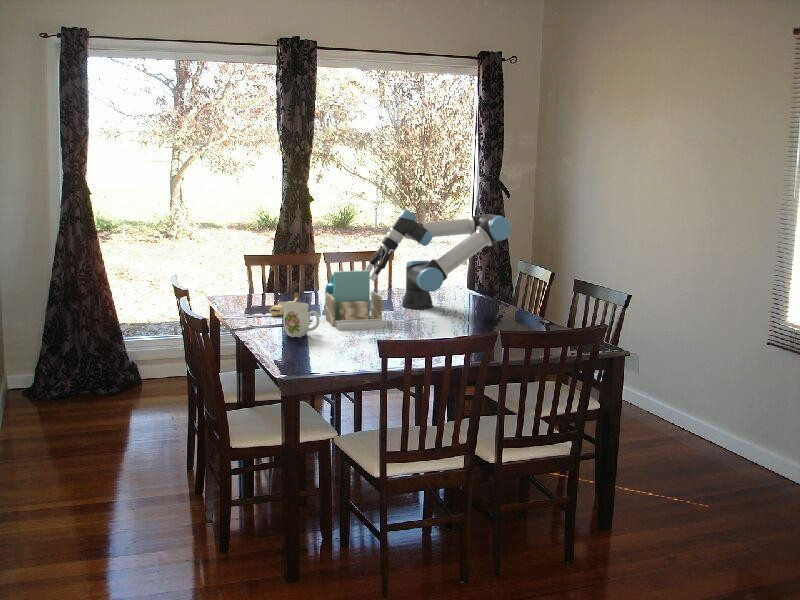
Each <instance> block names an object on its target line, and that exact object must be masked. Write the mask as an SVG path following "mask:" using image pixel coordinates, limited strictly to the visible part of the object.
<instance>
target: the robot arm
mask: <svg viewBox="0 0 800 600" xmlns="http://www.w3.org/2000/svg"><path fill="white" fill-rule="evenodd" d="M416 219H417V216H416V215H415V214H414V213H413V212H412V211H410V210H409V209H405V208H404V209H402V210H401V212H400V213H399V214H398V216H397V218H395V221H394V222H393V223H392V225H391V227H390V228H389V229H388V231H387V233H386V236H384V237H383V239H382V241H381V244H383V246H382V245H380V247H379V248H378V249H377V250H376V252H375V253H374V254H373V255H372V256H371V257H370V258H369V260H368V261H369V262H368V264H367V265H366V267H365V269H363V271H370V280H371V281H372V282H375V281H376V279H377V277H378V276H379V274H380V273H381V272H382V270H383V269H386V267H387V264H388V262H389V260H390V257H391V256H392V253H393V251H396V250H397V249H398V247H399V244H401V242H402V241H403V239H404V238H406V239H408V240H412V241H414V242H417V243H418V244H419V245H421V246H423V247H426V246H428V245H429V244H430V243H431V241H432V240H433V238H436V237H437V238H438V237H449V236H460V235H461V236H462V235H469V236H467V237H466V238H465V239H463V240H462V241H461V242H459V243H458V244H457V245H455V246H453V247H452V248H451V249H449V250H448V251H447V252H445V254H443V255H441V257H438V259H436V258H433V259H431V260H408V261H406V266H405V293H404V295H403V299H402V302H401V306H402V307H403V308H405V307H406V309H411V308H414V310H425V309H424V308H426V309H431V308H432V307H433V299H432V296H431V292H435V291H437V290H439V289H440V288H441V286H442V285H443V282H444V281H446V280H447V279H448V275H449V274H450V273H451V272H453V271H454V270H455V269H457V268H458V267H460V266H461V265H463V263H465V262H466V261H468V260H469V259H470V258H472V257H473V256H475V254H478V252H480V251H481V250H483V248H485V247H486V246H487V247H491V246H493V245H494V244H495V243H497V242H501V241H504V240H506V239H508V238H509V236H510V234H511V231H512V230H511V229H512V225H511V223H510V221H509V219H508V218H506V217H504V216H503V215H496V214H492V213H485V214H479V215H474V216H473V215H472V216H468V217H467V218H462V219H461V218H460V219H452V220H451V219H449V220H440V221H439V220H437V221H428V222H427V221H425V222H418V221H416ZM377 263H378V264H377ZM373 269H374V270H373ZM372 270H373V271H372ZM371 272H372V273H371ZM430 307H431V308H430Z"/></svg>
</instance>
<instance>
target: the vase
mask: <svg viewBox="0 0 800 600" xmlns="http://www.w3.org/2000/svg"><path fill="white" fill-rule="evenodd" d="M326 293H329V294H330V295H331V296H332V297H333V298H334V273H333V274H330V281H329V282H328V283H327V284H326V285H325V292H324V305H325V307H326Z"/></svg>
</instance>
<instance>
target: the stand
mask: <svg viewBox="0 0 800 600" xmlns="http://www.w3.org/2000/svg"><path fill="white" fill-rule="evenodd" d="M334 327H335V328H337V330H338V331H349V330H351V331H352V330H353V331H354V330H369V329H370V330H371V329H385V322H384V320H382V321H381V319H361V320H339V321H335V326H334Z"/></svg>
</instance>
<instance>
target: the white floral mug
mask: <svg viewBox="0 0 800 600" xmlns="http://www.w3.org/2000/svg"><path fill="white" fill-rule="evenodd" d="M277 302H278V303H279V304H280V305H281V306H282V307H283V309H284V315H282V321H283V328H284V330H285V333H286V334H287V336H288V337H289V336H290V338H294V337H298V338H303V337H302V336H304V337H305V335H306V334H307V333H309V332H312V331H315V330H316V329H317V328H318V327H319V325H320V321H321V320H320V315H319V313H318V312H317V310H311V311H309V308H310V304H309V303H306V302H298V301H296V302H289V301H277ZM279 304H278V305H279ZM313 314H314V315H315V317H316V322H315V324H314V325H313V326H312V327H310V322H311V321H310V320H311V317H310V315H313Z"/></svg>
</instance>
